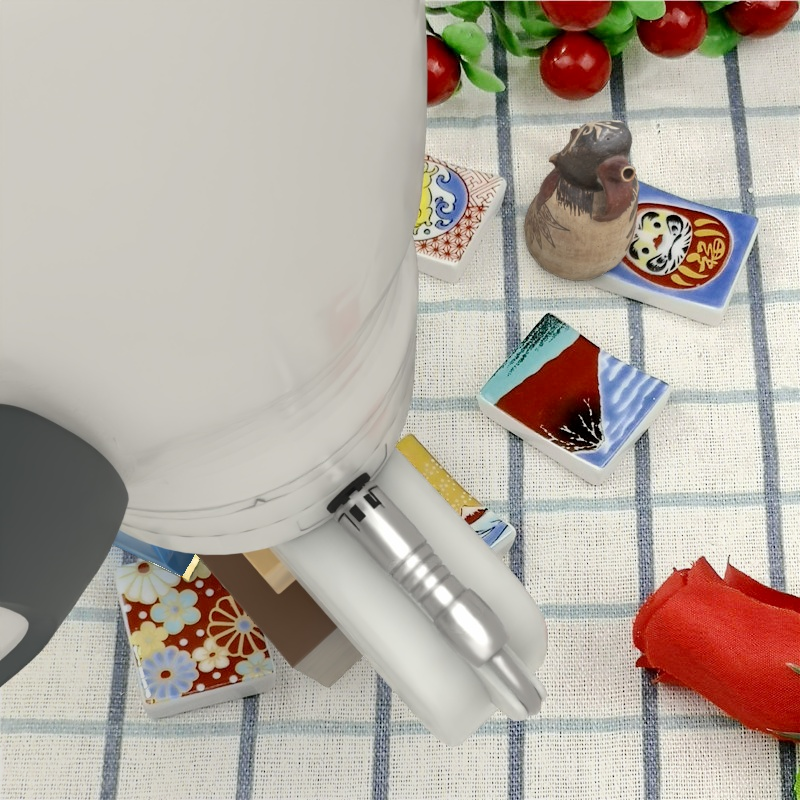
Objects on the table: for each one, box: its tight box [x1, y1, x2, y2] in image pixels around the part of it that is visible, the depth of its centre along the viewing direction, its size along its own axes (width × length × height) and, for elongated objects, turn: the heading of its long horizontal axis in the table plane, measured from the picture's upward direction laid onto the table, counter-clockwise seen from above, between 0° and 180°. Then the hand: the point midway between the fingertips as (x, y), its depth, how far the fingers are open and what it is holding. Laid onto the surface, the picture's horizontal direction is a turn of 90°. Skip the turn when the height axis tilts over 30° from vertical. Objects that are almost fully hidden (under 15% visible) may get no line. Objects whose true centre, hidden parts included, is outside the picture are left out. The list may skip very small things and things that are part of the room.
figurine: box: [523, 119, 640, 281], centre depth 63 cm, size 7×7×12 cm
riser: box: [196, 553, 364, 689], centre depth 52 cm, size 8×8×20 cm
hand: (282, 488), depth 35 cm, fingers closed on wood block, 5 cm apart
